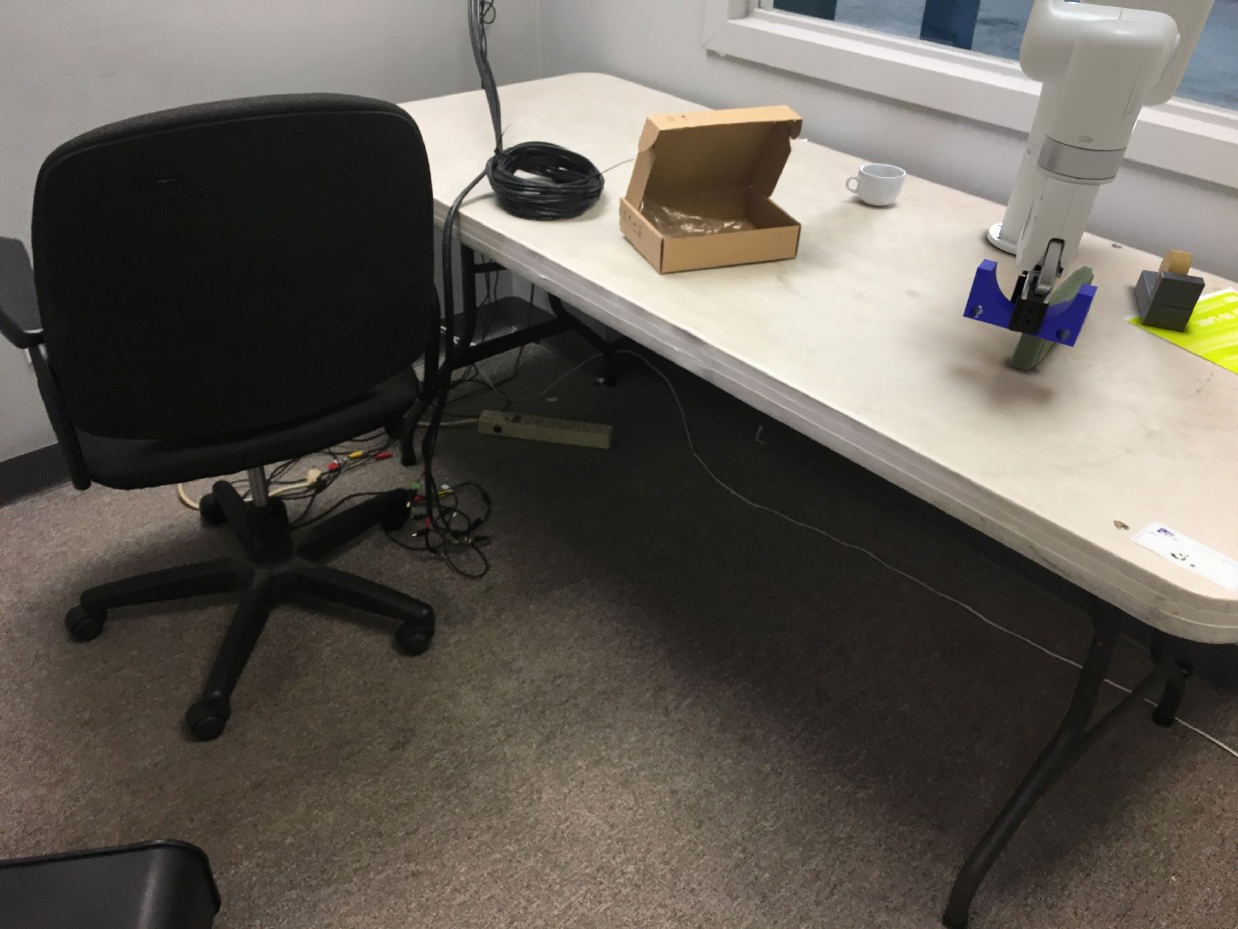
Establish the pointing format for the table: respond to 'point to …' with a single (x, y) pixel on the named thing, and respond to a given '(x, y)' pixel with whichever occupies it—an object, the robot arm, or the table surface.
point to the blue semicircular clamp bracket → (997, 309)
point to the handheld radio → (1034, 347)
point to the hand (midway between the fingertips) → (1022, 319)
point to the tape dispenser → (1169, 292)
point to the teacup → (878, 183)
